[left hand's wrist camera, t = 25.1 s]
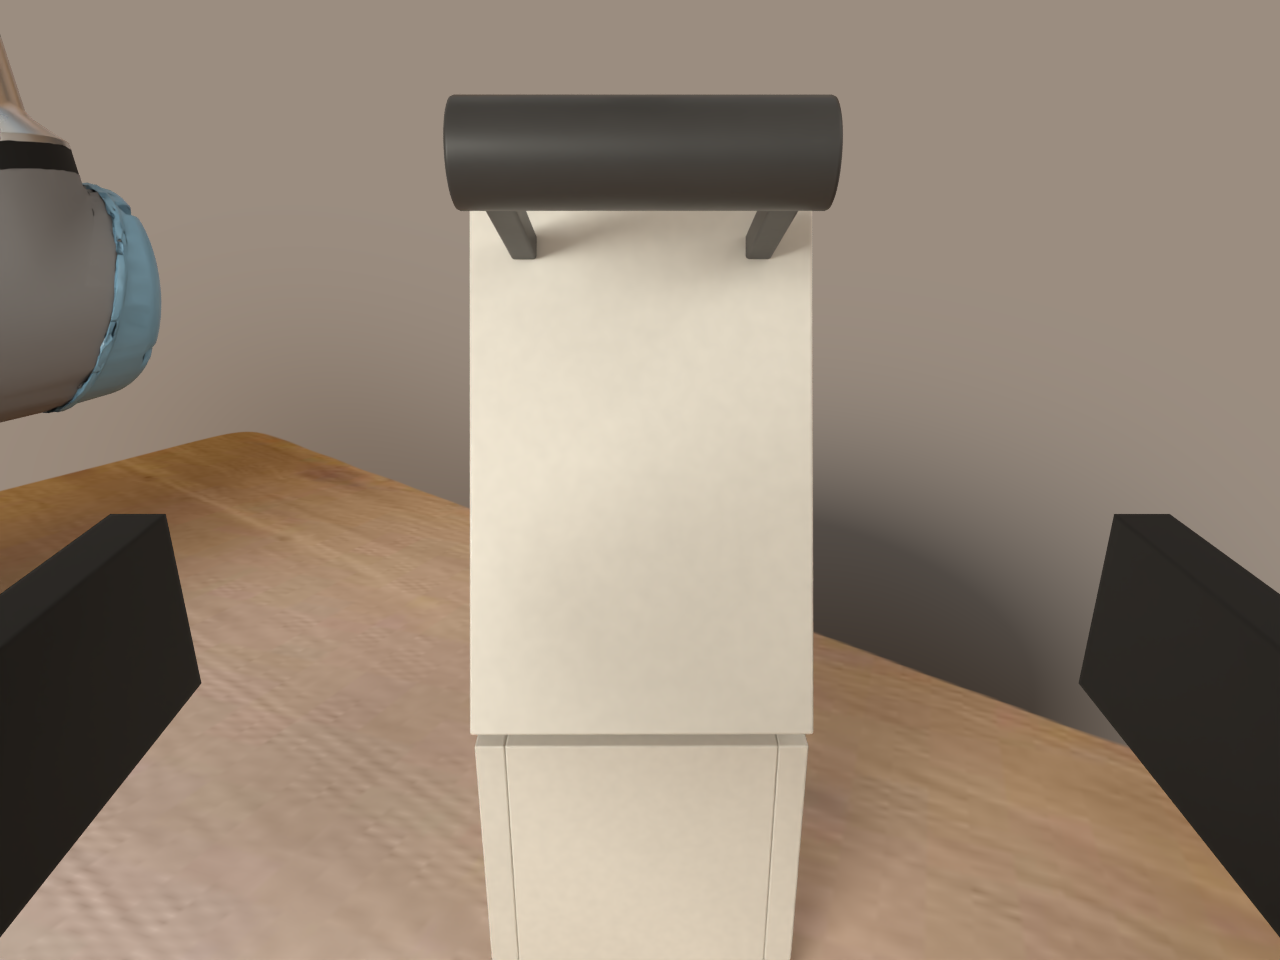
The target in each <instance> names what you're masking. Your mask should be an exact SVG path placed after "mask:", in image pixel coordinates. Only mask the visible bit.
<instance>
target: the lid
mask: <svg viewBox="0 0 1280 960" xmlns="http://www.w3.org/2000/svg"><path fill="white" fill-rule="evenodd" d="M443 142H444V159H445V169H446V176H447V182H448V187H449V191H450V195H451V198H452V201H453V203H454V206H455V207H456V209H458V210H460V211H470V733H471V734H472V735H650V734H812V733H813V369H812V368H813V365H812V363H813V360H812V211H825V210H827V209H829V208H830V207H831V205H832V202H833V200H834V197H835V194H836V191H837V187H838V182H839V176H840V169H841V160H842V146H843V125H842V114H841V108H840V104H839V101H838V99H837V97H836V96H834V95H452V96H450V97H449V98H448V100H447V104H446V108H445V114H444V127H443Z"/></svg>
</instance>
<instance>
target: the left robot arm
mask: <svg viewBox="0 0 1280 960" xmlns="http://www.w3.org/2000/svg"><path fill="white" fill-rule="evenodd" d="M200 684H201V679H200V675H199V670H198V665H197V660H196V656H195V651H194V646H193V641H192V637H191V632H190V627H189V622H188V618H187V613H186V608H185V603H184V599H183V594H182V589H181V584H180V580H179V575H178V570H177V565H176V561H175V556H174V551H173V546H172V542H171V537H170V532H169V527H168V523H167V518H166V514H110V515H108V516H107V517H106V518H104V519H103V520H102V521H100V522H99V523H97V524H96V525H95V526H93V527H92V528H91V529H89V530H88V531H86V532H85V533H84V534H82V535H81V536H80V537H78V538H77V539H75V540H74V541H73V542H71V543H70V544H69V545H67V546H66V547H64V548H63V549H62V550H60V551H59V552H58V553H56V554H55V555H53V556H52V557H51V558H49V559H48V560H47V561H45V562H44V563H42V564H41V565H40V566H38V567H37V568H36V569H34V570H33V571H31V572H30V573H29V574H27V575H26V576H25V577H23V578H22V579H20V580H19V581H18V582H16V583H15V584H14V585H12V586H11V587H9V588H8V589H7V590H5V591H4V592H3V593H1V594H0V937H1V936H2V934H3V933H4V932H5V931H6V929H7V928H8V927H9V925H10V924H11V923H12V922H13V920H14V919H15V918H16V917H17V915H18V914H19V913H20V912H21V910H22V909H23V908H24V907H25V905H26V904H27V903H28V901H29V900H30V899H31V898H32V896H33V895H34V894H35V893H36V891H37V890H38V889H39V888H40V886H41V885H42V884H43V883H44V881H45V880H46V879H47V877H48V876H49V875H50V874H51V872H52V871H53V870H54V869H55V867H56V866H57V865H58V864H59V862H60V861H61V860H62V859H63V857H64V856H65V855H66V853H67V852H68V851H69V850H70V848H71V847H72V846H73V845H74V843H75V842H76V841H77V840H78V838H79V837H80V836H81V835H82V833H83V832H84V831H85V829H86V828H87V827H88V826H89V824H90V823H91V822H92V821H93V819H94V818H95V817H96V816H97V814H98V813H99V812H100V811H101V809H102V808H103V807H104V805H105V804H106V803H107V802H108V800H109V799H110V798H111V797H112V795H113V794H114V793H115V792H116V790H117V789H118V788H119V787H120V785H121V784H122V783H123V781H124V780H125V779H126V778H127V776H128V775H129V774H130V773H131V771H132V770H133V769H134V768H135V766H136V765H137V764H138V763H139V761H140V760H141V759H142V757H143V756H144V755H145V754H146V752H147V751H148V750H149V749H150V747H151V746H152V745H153V744H154V742H155V741H156V740H157V739H158V737H159V736H160V735H161V733H162V732H163V731H164V730H165V728H166V727H167V726H168V725H169V723H170V722H171V721H172V720H173V718H174V717H175V716H176V715H177V713H178V712H179V711H180V709H181V708H182V707H183V706H184V704H185V703H186V702H187V701H188V699H189V698H190V697H191V696H192V694H193V693H194V692H195V690H196V689H197V688H198V687H199V685H200ZM1079 684H1080V685H1081V687H1082V688H1083V689H1084V690H1085V692H1086V693H1087V694H1088V696H1089V697H1090V698H1091V699H1092V701H1093V702H1094V703H1095V704H1096V706H1097V707H1098V708H1099V709H1100V711H1101V712H1102V713H1103V715H1104V716H1105V717H1106V718H1107V720H1108V721H1109V722H1110V723H1111V725H1112V726H1113V727H1114V728H1115V730H1116V731H1117V732H1118V733H1119V735H1120V736H1121V737H1122V739H1123V740H1124V741H1125V742H1126V743H1127V745H1128V746H1129V747H1130V749H1131V750H1132V751H1133V752H1134V754H1135V755H1136V756H1137V757H1138V759H1139V760H1140V761H1141V763H1142V764H1143V765H1144V766H1145V768H1146V769H1147V770H1148V771H1149V773H1150V774H1151V775H1152V776H1153V778H1154V779H1155V780H1156V781H1157V783H1158V784H1159V785H1160V787H1161V788H1162V789H1163V790H1164V792H1165V793H1166V794H1167V795H1168V797H1169V798H1170V799H1171V800H1172V802H1173V803H1174V804H1175V805H1176V807H1177V808H1178V809H1179V811H1180V812H1181V813H1182V814H1183V816H1184V817H1185V818H1186V819H1187V821H1188V822H1189V823H1190V824H1191V826H1192V827H1193V828H1194V829H1195V831H1196V832H1197V833H1198V835H1199V836H1200V837H1201V838H1202V840H1203V841H1204V842H1205V843H1206V845H1207V846H1208V847H1209V848H1210V850H1211V851H1212V852H1213V853H1214V855H1215V856H1216V857H1217V859H1218V860H1219V861H1220V862H1221V864H1222V865H1223V866H1224V867H1225V869H1226V870H1227V871H1228V872H1229V874H1230V875H1231V876H1232V877H1233V879H1234V880H1235V881H1236V883H1237V884H1238V885H1239V886H1240V888H1241V889H1242V890H1243V891H1244V893H1245V894H1246V895H1247V896H1248V898H1249V899H1250V900H1251V901H1252V903H1253V904H1254V905H1255V907H1256V908H1257V909H1258V910H1259V912H1260V913H1261V914H1262V915H1263V917H1264V918H1265V919H1266V920H1267V922H1268V923H1269V924H1270V925H1271V927H1272V928H1273V929H1274V931H1275V932H1276V933H1277V934H1278V936H1279V937H1280V594H1279V593H1277V592H1276V591H1275V590H1273V589H1272V588H1271V587H1269V586H1268V585H1266V584H1265V583H1264V582H1262V581H1261V580H1259V579H1258V578H1257V577H1255V576H1254V575H1253V574H1251V573H1250V572H1249V571H1247V570H1246V569H1244V568H1243V567H1242V566H1240V565H1239V564H1238V563H1236V562H1235V561H1233V560H1232V559H1231V558H1229V557H1228V556H1227V555H1225V554H1224V553H1222V552H1221V551H1220V550H1218V549H1217V548H1216V547H1214V546H1213V545H1211V544H1210V543H1209V542H1207V541H1206V540H1205V539H1203V538H1202V537H1200V536H1199V535H1198V534H1196V533H1195V532H1193V531H1192V530H1191V529H1189V528H1188V527H1187V526H1185V525H1184V524H1183V523H1181V522H1180V521H1178V520H1177V519H1176V518H1174V517H1173V516H1172V515H1170V514H1114V518H1113V523H1112V528H1111V532H1110V537H1109V542H1108V547H1107V551H1106V556H1105V561H1104V565H1103V570H1102V575H1101V580H1100V584H1099V589H1098V594H1097V599H1096V603H1095V608H1094V613H1093V618H1092V622H1091V627H1090V632H1089V637H1088V641H1087V646H1086V651H1085V656H1084V660H1083V665H1082V670H1081V675H1080V680H1079Z"/></svg>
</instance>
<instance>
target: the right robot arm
mask: <svg viewBox="0 0 1280 960" xmlns="http://www.w3.org/2000/svg"><path fill="white" fill-rule="evenodd" d="M160 318H161V289H160V280H159V274H158V268H157V263H156V259H155V256H154V252H153V249H152V246H151V243H150V241H149V238H148V236H147V233H146V231H145V229H144V227H143V225H142V223H141V222H140V220H139V219H138V218H137V217H135V216H132V215H131V209H130V206H129V205H128V204H127V203H126V202H125V201H124V200H123V199H122V198H121V197H120V196H118V195H117V194H116V193H114V192H112V191H110V190H107V189H104V188H101V187H99V186H97V185H93V184H90V183H82V182H81V179H80V175H79V173H78V170H77V167H76V164H75V161H74V158H73V155H72V151H71V148H70V145H69V143H68V142H66V141H65V140H63V139H62V138H60V137H59V136H57V135H56V134H54V133H53V132H51V131H49V130H48V129H46V128H45V127H43V126H42V125H40V124H39V123H37V122H36V121H34V120H33V119H32V118H31V117H30V116H29V115H28V114H27V113H26V112H25V110H24V107H23V103H22V100H21V97H20V94H19V91H18V88H17V85H16V82H15V79H14V76H13V73H12V70H11V67H10V64H9V60H8V57H7V54H6V51H5V48H4V45H3V42H2V39H1V36H0V422H4V421H8V420H13V419H17V418H21V417H25V416H29V415H33V414H38V413H50V412H61V411H65V410H67V409H69V408H71V407H73V406H74V405H75V404H77V403H80V402H83V401H87V400H90V399H94V398H97V397H101V396H104V395H107V394H111V393H114V392H116V391H118V390H121V389H123V388H124V387H126V386H127V385H129V384H130V383H131V382H133V381H134V380H135V379H136V378H137V377H138V376H139V375H140V373H141V372H142V371H143V369H144V368H145V366H146V365H147V362H148V360H149V359H150V357H151V352H152V347H153V346H154V345H155V343H156V341H157V337H158V332H159V327H160Z"/></svg>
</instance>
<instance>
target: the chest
mask: <svg viewBox="0 0 1280 960" xmlns="http://www.w3.org/2000/svg"><path fill="white" fill-rule="evenodd" d="M475 756H476V769H477V781H478V793H479V806H480V818H481V830H482V842H483V855H484V867H485V879H486V892H487V904H488V916H489V928H490V941H491V953H492V960H790V959H791V951H792V938H793V926H794V914H795V902H796V890H797V878H798V866H799V854H800V842H801V830H802V818H803V806H804V794H805V782H806V770H807V758H808V743H807V740H806V736H805V734H650V735H478V737H477V741H476V744H475Z"/></svg>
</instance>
